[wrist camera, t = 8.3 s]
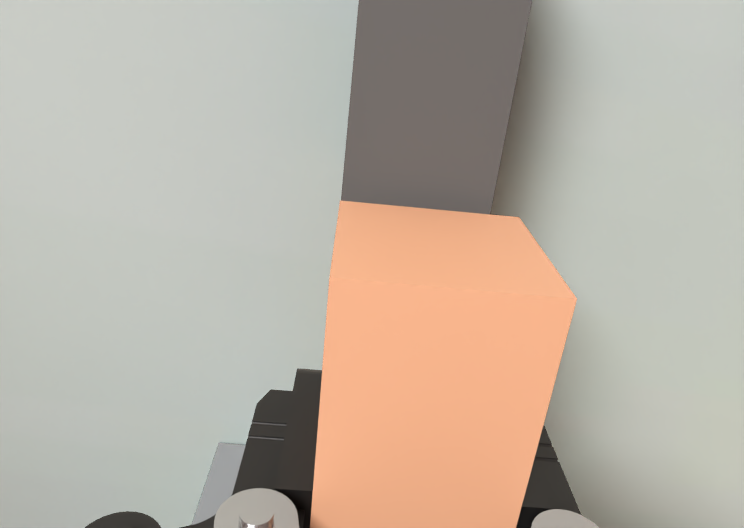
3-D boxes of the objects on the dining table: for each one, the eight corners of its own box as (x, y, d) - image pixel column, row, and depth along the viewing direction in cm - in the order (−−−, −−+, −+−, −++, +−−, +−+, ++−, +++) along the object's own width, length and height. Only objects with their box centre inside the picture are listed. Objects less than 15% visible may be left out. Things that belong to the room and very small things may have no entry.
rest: (372, -120, 12) (374, -169, 9) (505, -103, 12) (560, -145, 9) (346, 164, 15) (339, 215, 11) (458, 175, 15) (486, 230, 11)
